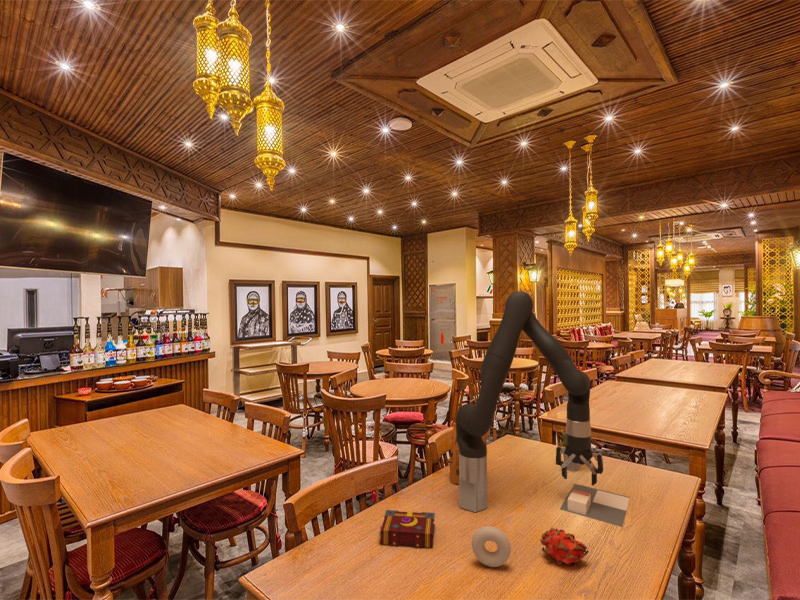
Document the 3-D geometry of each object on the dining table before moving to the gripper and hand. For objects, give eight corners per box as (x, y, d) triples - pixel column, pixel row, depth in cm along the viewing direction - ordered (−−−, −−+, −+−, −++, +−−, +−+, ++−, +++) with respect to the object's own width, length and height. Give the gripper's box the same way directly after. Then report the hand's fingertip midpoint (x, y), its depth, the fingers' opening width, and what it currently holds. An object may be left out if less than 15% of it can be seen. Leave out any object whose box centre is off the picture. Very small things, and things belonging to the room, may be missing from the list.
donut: (511, 564, 105) (510, 526, 105) (511, 573, 102) (510, 533, 102) (472, 558, 108) (472, 521, 107) (471, 566, 104) (470, 528, 104)
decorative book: (433, 550, 112) (433, 532, 112) (376, 546, 114) (375, 528, 114) (434, 527, 123) (434, 510, 123) (382, 523, 125) (382, 507, 125)
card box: (586, 515, 127) (585, 503, 127) (567, 509, 131) (567, 498, 131) (590, 504, 134) (590, 493, 134) (573, 499, 137) (573, 488, 137)
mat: (622, 528, 121) (622, 526, 121) (559, 511, 131) (559, 508, 131) (630, 498, 139) (630, 496, 139) (574, 485, 149) (574, 483, 149)
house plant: (595, 479, 153) (595, 437, 153) (556, 474, 158) (556, 433, 158) (590, 465, 167) (590, 425, 167) (554, 461, 171) (554, 422, 171)
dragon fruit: (536, 558, 110) (584, 575, 105) (538, 556, 103) (589, 574, 99) (541, 524, 114) (587, 539, 110) (543, 520, 107) (592, 536, 103)
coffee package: (450, 473, 160) (449, 418, 160) (482, 475, 157) (481, 419, 157) (448, 485, 150) (448, 426, 150) (482, 487, 148) (482, 427, 148)
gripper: (553, 432, 134) (554, 480, 134) (600, 440, 126) (601, 491, 126) (558, 425, 140) (559, 472, 140) (604, 432, 132) (604, 482, 132)
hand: (579, 481), depth 133 cm, fingers open, 8 cm apart
